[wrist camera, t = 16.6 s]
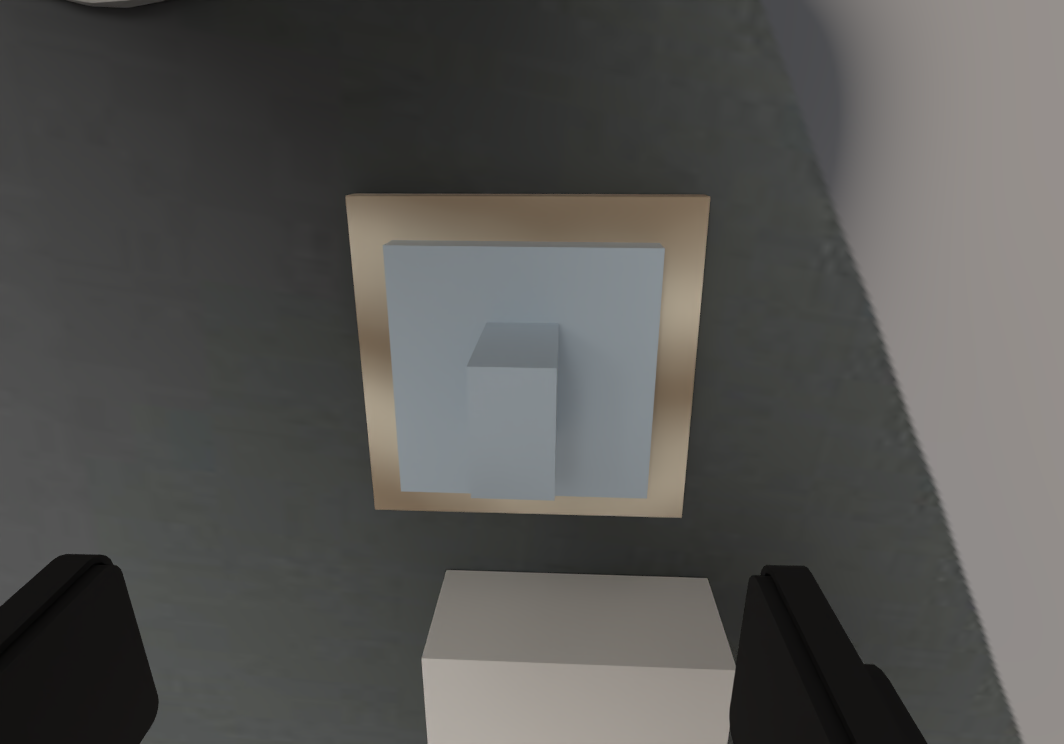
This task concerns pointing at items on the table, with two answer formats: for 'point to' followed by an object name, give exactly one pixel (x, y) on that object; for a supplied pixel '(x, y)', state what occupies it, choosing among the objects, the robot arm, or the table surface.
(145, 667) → the robot arm
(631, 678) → the housing
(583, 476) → the cover
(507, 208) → the pad
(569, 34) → the table surface
